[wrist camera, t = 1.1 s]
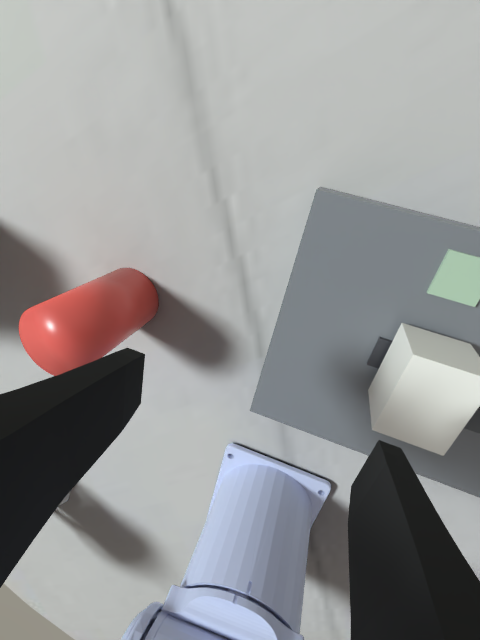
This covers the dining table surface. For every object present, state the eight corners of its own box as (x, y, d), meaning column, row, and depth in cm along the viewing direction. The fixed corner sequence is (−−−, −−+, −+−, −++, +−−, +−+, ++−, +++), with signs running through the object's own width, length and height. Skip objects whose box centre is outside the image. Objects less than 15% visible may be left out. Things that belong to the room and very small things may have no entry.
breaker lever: (428, 410, 17) (443, 456, 14) (368, 389, 17) (372, 429, 14) (470, 343, 15) (497, 381, 12) (401, 322, 15) (413, 354, 13)
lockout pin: (155, 331, 23) (87, 388, 17) (105, 313, 24) (22, 362, 18) (161, 278, 21) (87, 321, 15) (107, 260, 22) (15, 295, 16)
